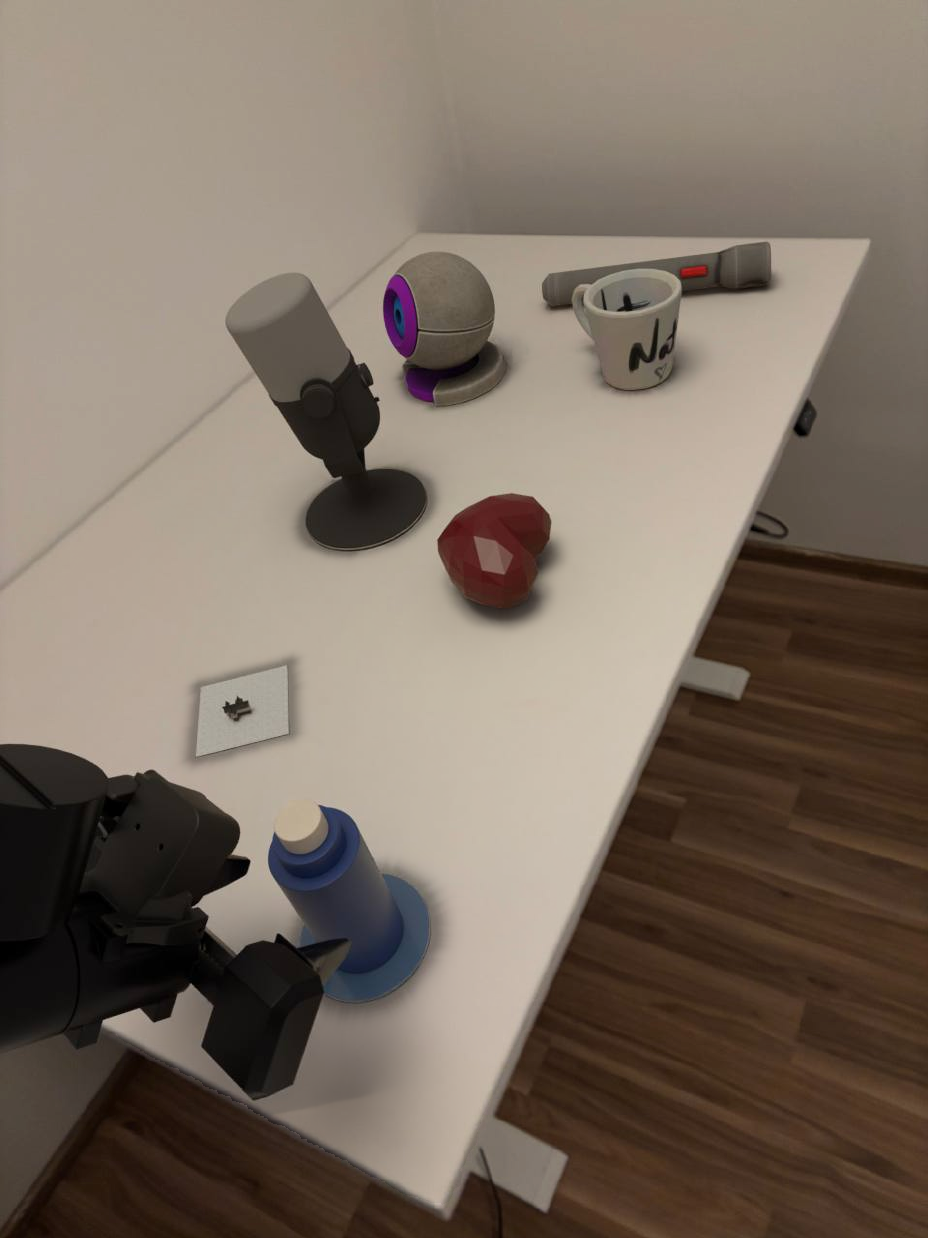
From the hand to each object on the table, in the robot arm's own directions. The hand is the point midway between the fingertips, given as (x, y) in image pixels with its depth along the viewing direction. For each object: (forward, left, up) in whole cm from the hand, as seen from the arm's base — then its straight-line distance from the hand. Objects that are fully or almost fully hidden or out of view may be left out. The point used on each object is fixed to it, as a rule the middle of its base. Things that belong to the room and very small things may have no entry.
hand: (295, 904), depth 54 cm
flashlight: (+88, +24, -9) cm, 92 cm away
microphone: (+39, +31, -9) cm, 50 cm away
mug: (+72, +19, -9) cm, 75 cm away
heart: (+36, +12, -9) cm, 39 cm away
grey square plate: (+13, +23, -9) cm, 28 cm away
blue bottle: (+3, 0, -8) cm, 9 cm away
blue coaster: (+3, 0, -9) cm, 9 cm away
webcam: (+64, +38, -9) cm, 75 cm away
